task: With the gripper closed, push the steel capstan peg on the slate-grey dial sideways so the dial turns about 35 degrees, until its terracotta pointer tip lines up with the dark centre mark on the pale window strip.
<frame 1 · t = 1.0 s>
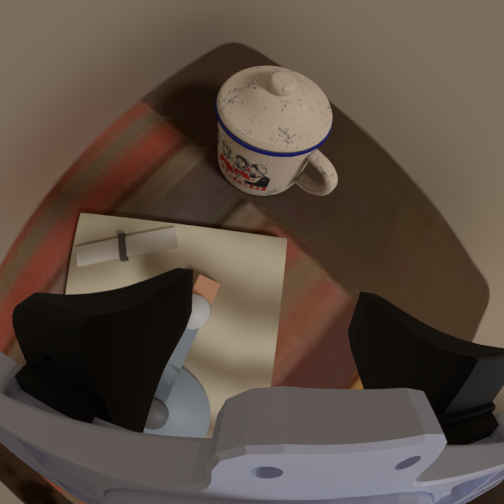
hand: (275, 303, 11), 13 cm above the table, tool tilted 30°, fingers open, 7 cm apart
cream flat board: (157, 401, 22), on the table
teacup with lid: (269, 168, 27), on the table
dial: (163, 379, 19), point 4 cm above the table, hinge at -35.0°
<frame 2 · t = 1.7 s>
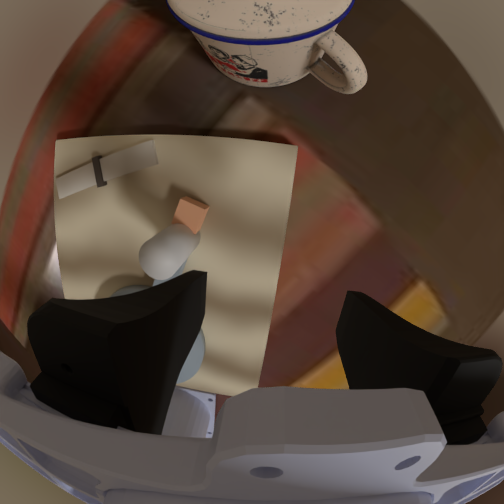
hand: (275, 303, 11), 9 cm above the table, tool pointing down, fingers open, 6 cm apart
cream flat board: (156, 327, 24), on the table
teacup with lid: (279, 51, 16), on the table
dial: (149, 318, 19), point 4 cm above the table, hinge at -35.0°
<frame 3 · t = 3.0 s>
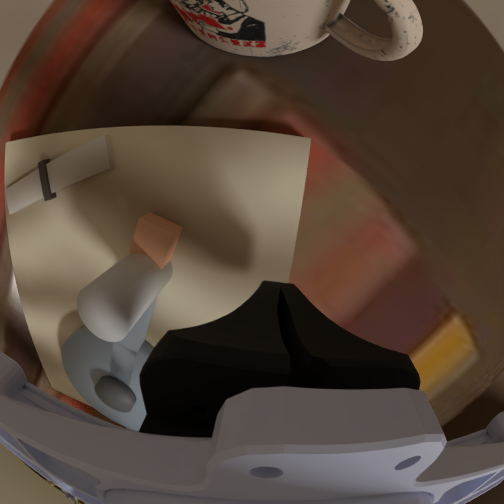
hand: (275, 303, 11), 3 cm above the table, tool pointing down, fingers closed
cream flat board: (130, 369, 18), on the table
teacup with lid: (281, 13, 10), on the table
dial: (113, 371, 13), point 4 cm above the table, hinge at -35.0°
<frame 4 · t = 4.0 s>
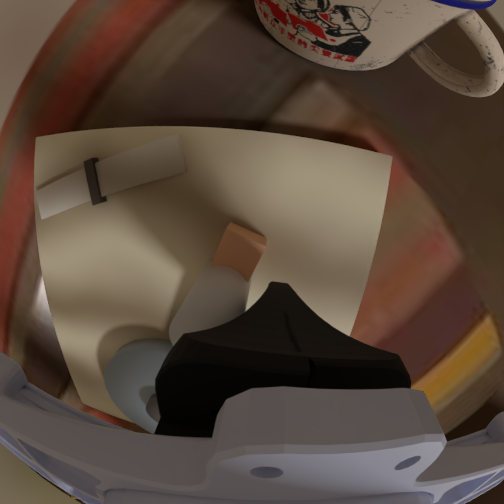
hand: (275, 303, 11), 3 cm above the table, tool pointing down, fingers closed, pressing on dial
cream flat board: (180, 382, 18), on the table
teacup with lid: (354, 26, 10), on the table
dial: (178, 389, 13), point 4 cm above the table, hinge at -34.9°, touching gripper
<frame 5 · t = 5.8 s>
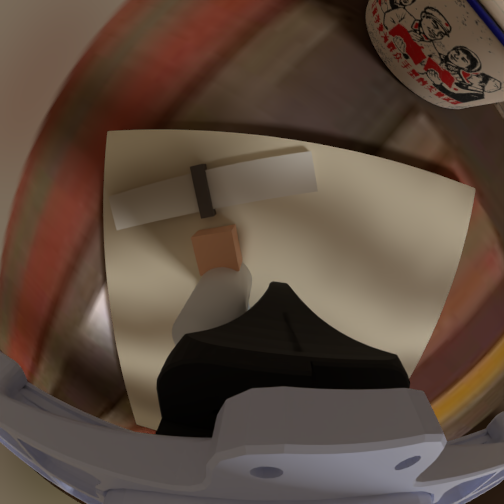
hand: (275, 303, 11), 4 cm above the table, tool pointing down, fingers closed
cream flat board: (260, 397, 18), on the table
teacup with lid: (443, 64, 10), on the table
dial: (245, 402, 13), point 4 cm above the table, hinge at -0.9°, touching gripper
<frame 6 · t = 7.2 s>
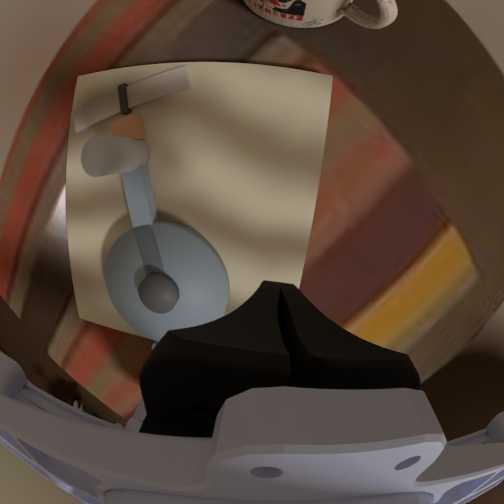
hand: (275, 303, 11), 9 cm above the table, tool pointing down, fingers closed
cream flat board: (171, 277, 22), on the table
teacup with lid: (309, 1, 14), on the table
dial: (138, 246, 17), point 4 cm above the table, hinge at -0.8°
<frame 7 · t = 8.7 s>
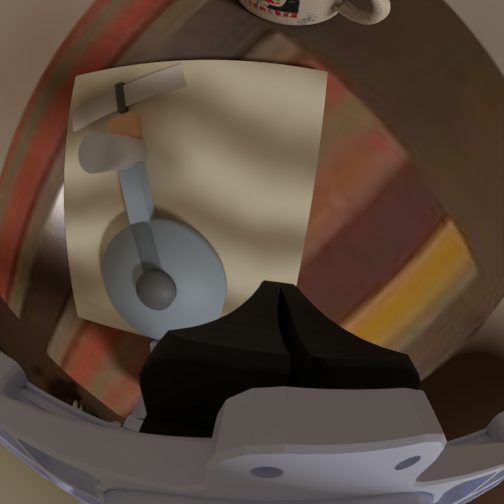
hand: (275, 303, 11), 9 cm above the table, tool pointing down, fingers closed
cream flat board: (169, 274, 22), on the table
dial: (135, 243, 17), point 4 cm above the table, hinge at -0.8°
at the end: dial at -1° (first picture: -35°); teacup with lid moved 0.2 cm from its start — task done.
